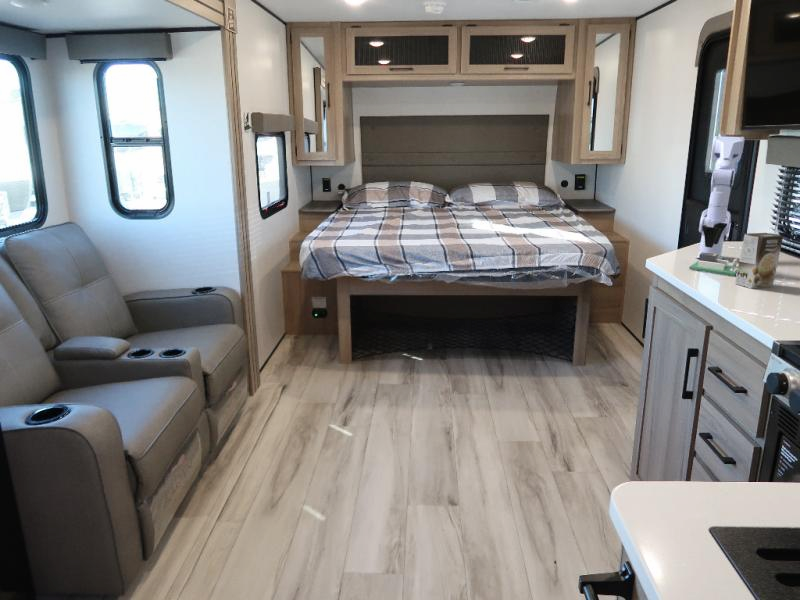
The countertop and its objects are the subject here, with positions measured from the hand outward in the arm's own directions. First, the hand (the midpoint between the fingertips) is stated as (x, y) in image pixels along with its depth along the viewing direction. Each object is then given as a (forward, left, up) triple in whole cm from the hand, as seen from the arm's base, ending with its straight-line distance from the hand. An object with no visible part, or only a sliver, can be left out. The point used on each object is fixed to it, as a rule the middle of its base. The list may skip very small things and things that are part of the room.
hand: (711, 245), depth 209 cm
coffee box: (+14, +17, -8) cm, 23 cm away
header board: (0, +3, -8) cm, 8 cm away
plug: (0, 0, -7) cm, 7 cm away
